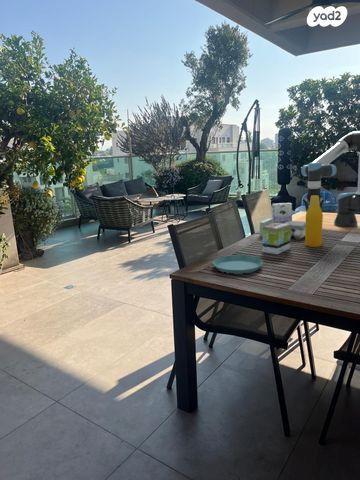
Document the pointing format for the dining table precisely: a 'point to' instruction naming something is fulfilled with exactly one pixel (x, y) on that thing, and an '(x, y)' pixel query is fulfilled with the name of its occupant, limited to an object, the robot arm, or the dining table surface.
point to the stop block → (265, 224)
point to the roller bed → (298, 233)
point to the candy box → (282, 212)
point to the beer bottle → (314, 223)
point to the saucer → (238, 264)
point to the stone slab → (297, 224)
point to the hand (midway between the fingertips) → (312, 225)
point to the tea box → (276, 238)
